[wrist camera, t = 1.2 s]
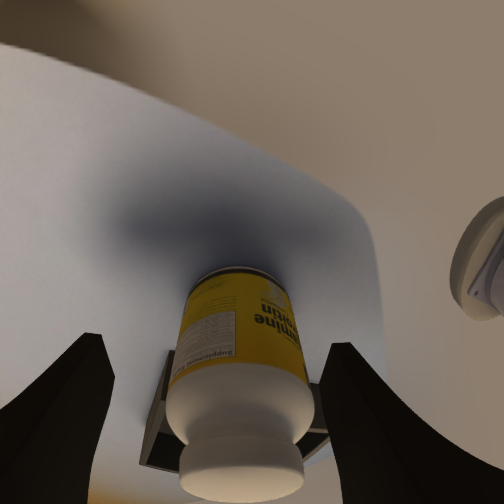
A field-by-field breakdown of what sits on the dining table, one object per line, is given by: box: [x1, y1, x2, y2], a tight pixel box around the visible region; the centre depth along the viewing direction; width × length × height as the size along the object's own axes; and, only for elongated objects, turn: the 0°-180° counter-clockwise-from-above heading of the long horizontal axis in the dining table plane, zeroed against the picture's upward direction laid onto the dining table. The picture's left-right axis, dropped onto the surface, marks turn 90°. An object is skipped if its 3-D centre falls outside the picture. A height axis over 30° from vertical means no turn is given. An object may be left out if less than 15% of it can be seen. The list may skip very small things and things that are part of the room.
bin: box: [139, 351, 330, 474], centre depth 23 cm, size 13×12×4 cm
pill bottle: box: [166, 266, 315, 503], centre depth 14 cm, size 6×6×12 cm
